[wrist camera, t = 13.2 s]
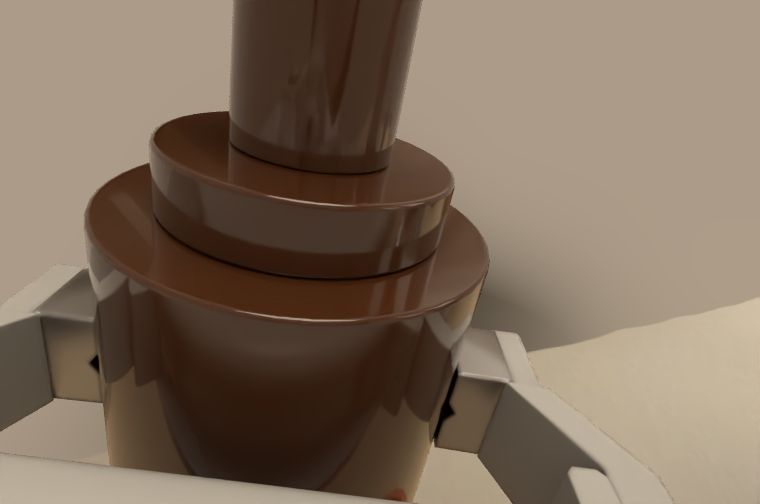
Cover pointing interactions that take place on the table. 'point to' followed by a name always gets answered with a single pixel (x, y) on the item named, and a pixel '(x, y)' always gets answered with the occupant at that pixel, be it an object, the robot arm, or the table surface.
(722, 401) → the table surface
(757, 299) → the table surface
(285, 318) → the sauce bottle
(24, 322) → the robot arm
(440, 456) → the table surface
